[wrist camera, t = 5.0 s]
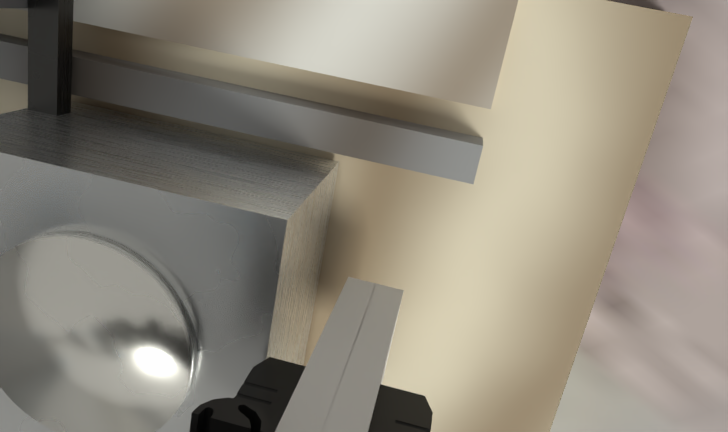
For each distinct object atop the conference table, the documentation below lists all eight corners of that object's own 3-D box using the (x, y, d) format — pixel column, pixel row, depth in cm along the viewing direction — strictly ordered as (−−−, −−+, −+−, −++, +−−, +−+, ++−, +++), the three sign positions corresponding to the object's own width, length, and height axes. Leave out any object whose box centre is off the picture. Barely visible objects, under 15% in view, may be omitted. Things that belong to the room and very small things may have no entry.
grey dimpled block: (59, 332, 20) (-78, 440, 15) (69, -103, 16) (-118, -153, 11) (298, 395, 20) (235, 530, 15) (375, -45, 15) (325, -69, 10)
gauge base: (-240, 329, 26) (-590, 488, 17) (-324, -189, 19) (-936, -338, 11) (495, 534, 23) (506, 845, 14) (674, -1, 17) (878, -6, 8)
